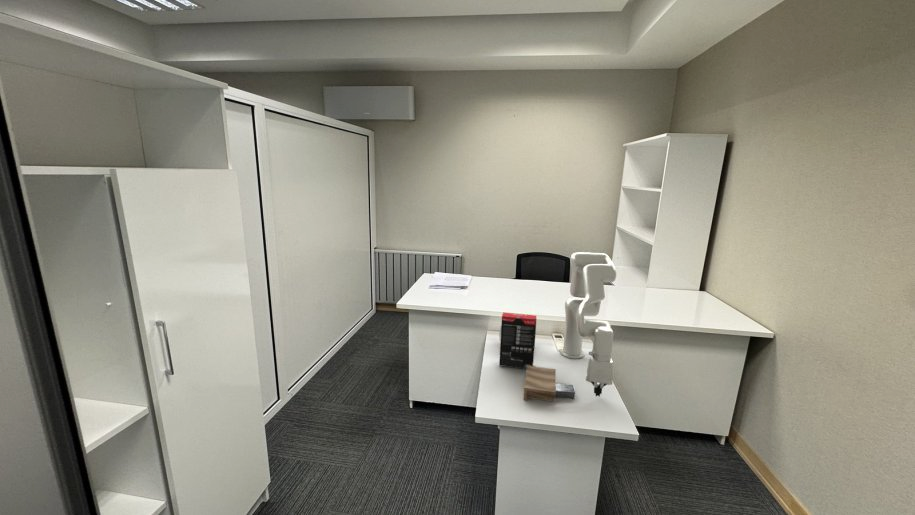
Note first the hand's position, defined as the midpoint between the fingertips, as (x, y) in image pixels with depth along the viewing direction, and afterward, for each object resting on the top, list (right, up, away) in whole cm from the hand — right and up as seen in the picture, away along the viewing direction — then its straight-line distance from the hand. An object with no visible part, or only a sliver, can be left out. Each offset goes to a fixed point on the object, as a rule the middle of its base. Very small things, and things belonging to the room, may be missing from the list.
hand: (597, 394), depth 162 cm
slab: (-18, -1, +3) cm, 18 cm away
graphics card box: (-31, +4, +28) cm, 42 cm away
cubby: (-24, 0, +6) cm, 24 cm away
